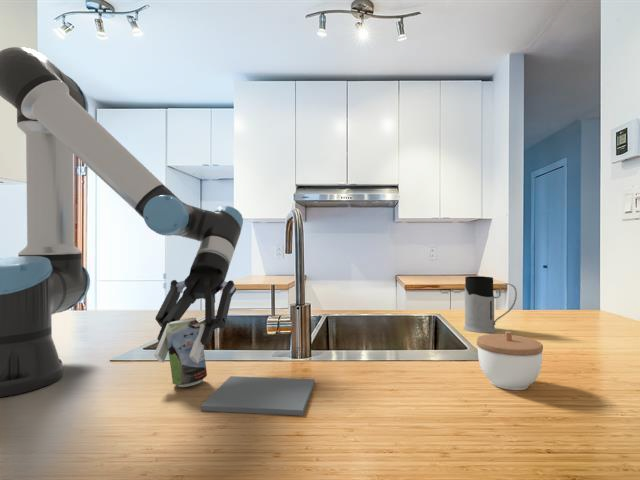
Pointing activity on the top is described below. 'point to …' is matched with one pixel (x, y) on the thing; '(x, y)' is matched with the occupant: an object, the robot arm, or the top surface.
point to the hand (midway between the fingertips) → (176, 359)
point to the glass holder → (481, 304)
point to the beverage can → (184, 353)
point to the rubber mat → (261, 396)
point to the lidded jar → (510, 360)
